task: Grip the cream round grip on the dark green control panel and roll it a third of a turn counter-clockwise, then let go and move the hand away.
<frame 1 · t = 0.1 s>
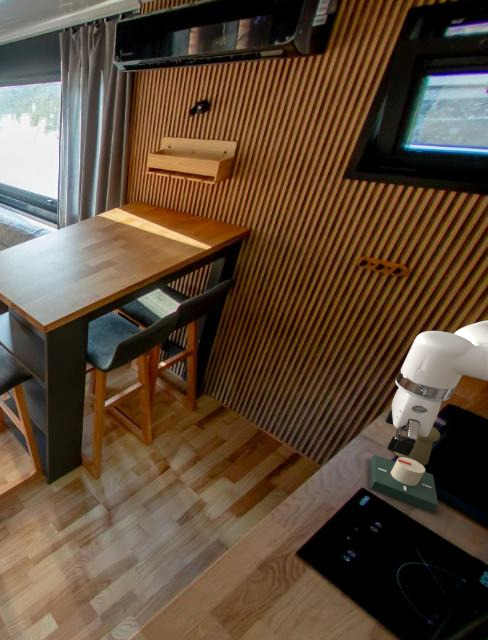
hand: (396, 437, 85), 19 cm above the worktop, tool pointing down, fingers open, 9 cm apart
grip knob: (407, 470, 90), point 6 cm above the worktop, hinge at 0.0°
panel: (399, 485, 93), on the worktop
cork: (410, 455, 99), on the worktop
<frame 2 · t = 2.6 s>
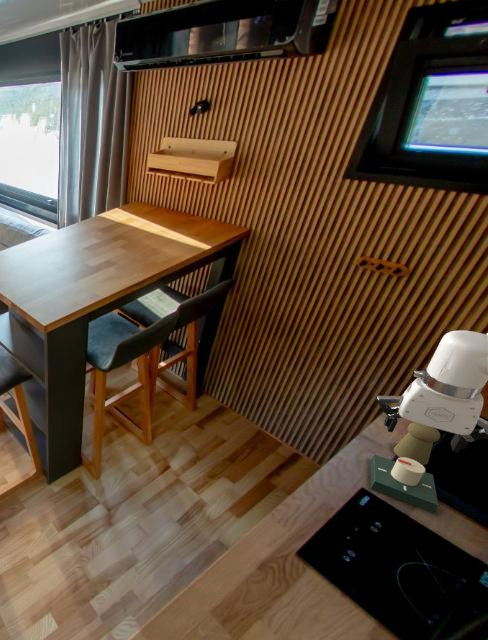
hand: (420, 437, 85), 18 cm above the worktop, tool pointing down, fingers open, 9 cm apart
nothing on the worktop moved.
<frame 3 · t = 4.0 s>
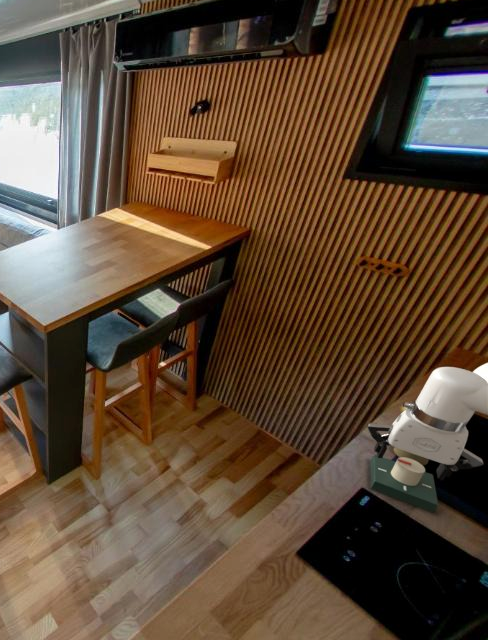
hand: (408, 464, 90), 8 cm above the worktop, tool pointing down, fingers open, 9 cm apart
nothing on the worktop moved.
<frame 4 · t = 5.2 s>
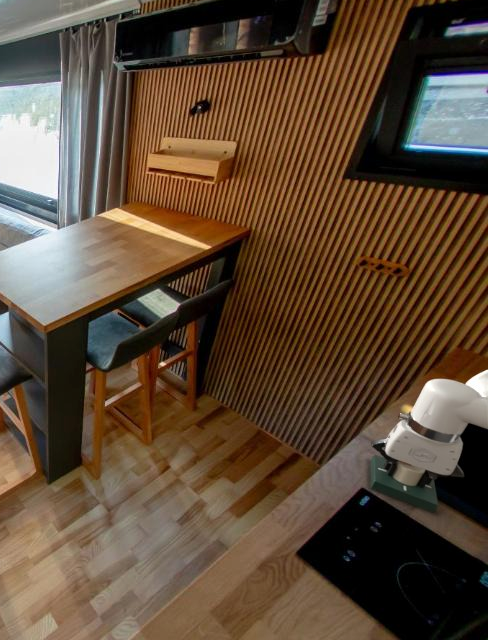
hand: (404, 477, 91), 3 cm above the worktop, tool pointing down, fingers closed on grip knob, panel, 4 cm apart
grip knob: (407, 470, 90), point 6 cm above the worktop, hinge at 0.0°, touching gripper
everything else where it was.
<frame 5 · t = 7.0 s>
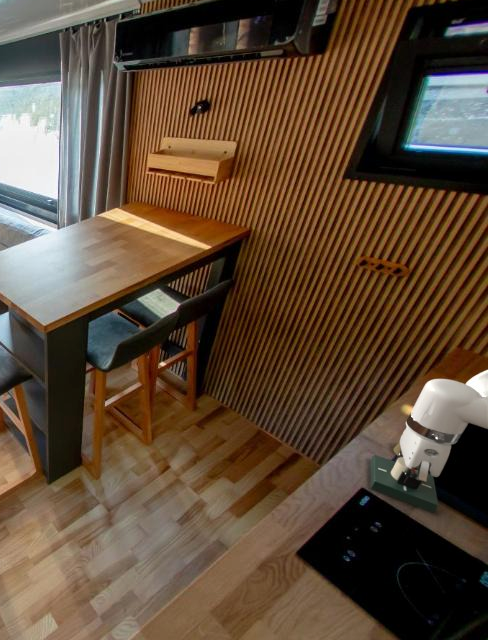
hand: (404, 477, 91), 3 cm above the worktop, tool pointing down, fingers closed on grip knob, 4 cm apart
grip knob: (407, 470, 90), point 6 cm above the worktop, hinge at 93.5°, touching gripper
everything else where it was.
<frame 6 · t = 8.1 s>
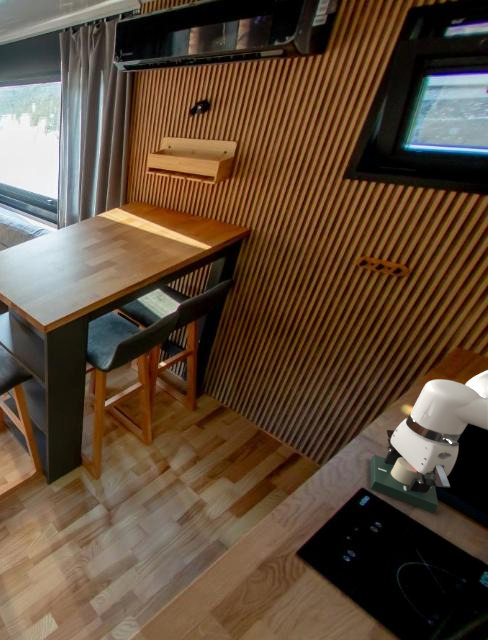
hand: (404, 476, 91), 4 cm above the worktop, tool pointing down, fingers open, 6 cm apart
grip knob: (407, 470, 90), point 6 cm above the worktop, hinge at 118.9°
everything else where it was.
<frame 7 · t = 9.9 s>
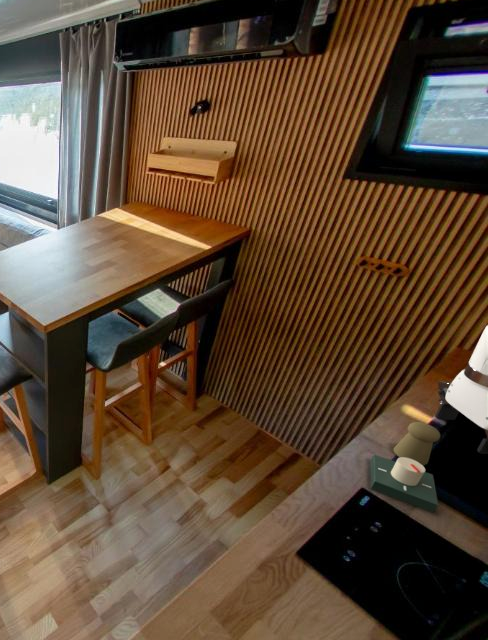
hand: (465, 434, 82), 21 cm above the worktop, tool pointing down, fingers open, 9 cm apart
nothing on the worktop moved.
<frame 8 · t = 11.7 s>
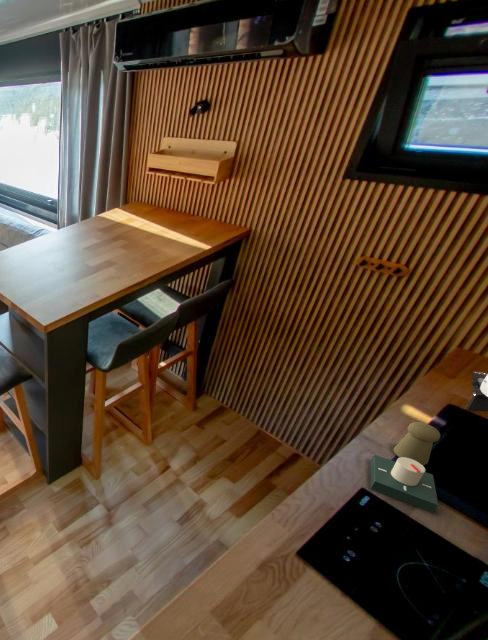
nothing on the worktop moved.
at the end: grip knob at +119° (first picture: +0°) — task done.
